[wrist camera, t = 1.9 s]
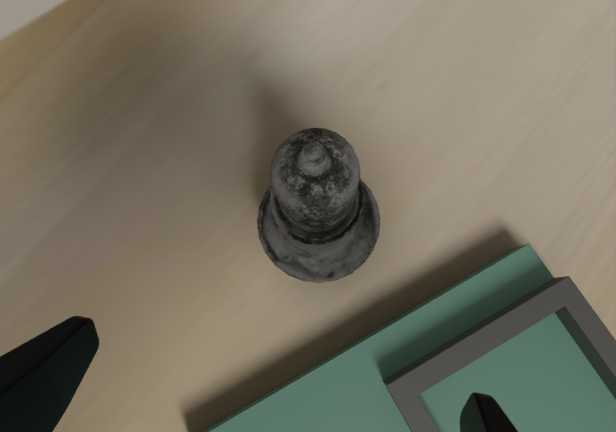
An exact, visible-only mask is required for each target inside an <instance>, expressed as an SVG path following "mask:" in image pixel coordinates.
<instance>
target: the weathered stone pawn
mask: <svg viewBox="0 0 616 432" xmlns="http://www.w3.org/2000/svg"><path fill="white" fill-rule="evenodd" d="M270 180H271V186H270V188H269V189H268V190H267V191H266V193H265V195H264V197H263V200H262V202H261V204H260V207H259V213H258V220H257V224H258V233H259V239H260V241H261V243H262V246H263V248H264V251H265V253H266V254H267V255H268V257H269V258H270V259H271V260H272V262H273V263H274V264H275V265H276V266H277V267H278V268H280V269H281V270H282V271H284V272H285V273H286V274H288V275H290V276H292V277H295V278H297V279H300V280H303V281H309V282H318V283H321V282H328V281H334V280H338V279H340V278H342V277H345V276H347V275H349V274H351V273H353V272H354V271H355V270H356V269H357V268H359V267H360V266H361V265H362V264H363V263H364V262H365V261H366V260H367V258H368V257H369V255H370V254H371V252H372V251H373V250H374V247H375V244H376V241H377V239H378V236H379V227H380V216H379V211H378V206H377V202H376V200H375V198H374V196H373V194H372V192H371V190H370V189H369V188H368V187H367V185H366V184H365V183H364V182H363V181H362V180H361V179H360V168H359V162H358V158H357V156H356V154H355V152H354V150H353V148H352V146H351V145H350V144H349V143H348V142H347V141H346V139H345V138H343V137H342V136H340V135H339V134H337V133H336V132H333V131H330V130H327V129H321V128H311V129H305V130H301V131H299V132H297V133H294V134H292V135H291V136H290V137H288V138H287V139H286V140H284V141H283V143H282V144H281V145H280V146H279V148H278V149H277V150H276V153H275V155H274V157H273V160H272V163H271V170H270Z"/></svg>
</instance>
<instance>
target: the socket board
mask: <svg viewBox="0 0 616 432" xmlns="http://www.w3.org/2000/svg"><path fill="white" fill-rule="evenodd" d="M473 392H477V393H482V394H487V395H490V396H492V397H493V398H494V399H495V400H496V401H497V403H498V404H499V405H500V407H501V408H502V410H503V411H504V412H505V414H506V415H507V417H508V418H509V419H510V421H511V422H512V423H513V425H514V426H515V428H516V429H517V430H518V432H616V340H615V339H614V337H613V336H612V335H611V333H610V332H609V331H608V329H607V328H606V326H605V325H604V324H603V322H602V321H601V320H600V318H599V317H598V315H597V314H596V313H595V311H594V310H593V309H592V307H591V306H590V304H589V303H588V302H587V300H586V299H585V298H584V296H583V295H582V293H581V292H580V291H579V289H578V288H577V287H576V285H575V284H574V283H573V281H572V280H571V278H570V277H569V276H566V277H558V278H553V276H552V275H551V273H550V272H549V271H548V269H547V268H546V266H545V265H544V264H543V262H542V261H541V259H540V258H539V257H538V255H537V254H536V252H535V251H534V250H533V248H532V247H531V245H530V244H527V245H523V246H520V247H517V248H514V249H513V250H511V251H509V252H508V253H506V254H504V255H502V256H501V257H499V258H497V259H496V260H494V261H492V262H490V263H489V264H487V265H485V266H484V267H482V268H480V269H479V270H477V271H475V272H473V273H472V274H470V275H468V276H467V277H465V278H463V279H461V280H460V281H458V282H456V283H455V284H453V285H451V286H450V287H448V288H446V289H444V290H443V291H441V292H439V293H438V294H436V295H434V296H433V297H431V298H429V299H427V300H426V301H424V302H422V303H421V304H419V305H417V306H415V307H414V308H412V309H410V310H409V311H407V312H405V313H404V314H402V315H400V316H398V317H397V318H395V319H393V320H392V321H390V322H388V323H386V324H385V325H383V326H381V327H380V328H378V329H376V330H375V331H373V332H371V333H369V334H368V335H366V336H364V337H363V338H361V339H359V340H358V341H356V342H354V343H352V344H351V345H349V346H347V347H346V348H344V349H342V350H340V351H339V352H337V353H335V354H334V355H332V356H330V357H329V358H327V359H325V360H323V361H322V362H320V363H318V364H317V365H315V366H313V367H311V368H310V369H308V370H306V371H305V372H303V373H301V374H300V375H298V376H296V377H294V378H293V379H291V380H289V381H288V382H286V383H284V384H283V385H281V386H279V387H277V388H276V389H274V390H272V391H271V392H269V393H267V394H265V395H264V396H262V397H260V398H259V399H257V400H255V401H254V402H252V403H250V404H248V405H247V406H245V407H243V408H242V409H240V410H238V411H237V412H235V413H233V414H231V415H230V416H228V417H226V418H225V419H223V420H221V421H219V422H218V423H216V424H214V425H213V426H211V427H209V428H208V429H206V430H204V431H202V432H460V414H461V411H462V409H463V407H464V406H465V404H466V402H467V400H468V398H469V396H470V395H471V394H472V393H473Z"/></svg>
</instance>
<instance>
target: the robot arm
mask: <svg viewBox="0 0 616 432" xmlns="http://www.w3.org/2000/svg"><path fill="white" fill-rule="evenodd" d="M98 347H99V338H98V335H97V331H96V328H95V325H94V322H93V320H92V319H90V318H86V317H81V316H73V317H71V318H69V319H67V320H65V321H63V322H61V323H60V324H58V325H56V326H54V327H53V328H51V329H49V330H47V331H45V332H44V333H42V334H40V335H38V336H36V337H35V338H33V339H31V340H29V341H27V342H26V343H24V344H22V345H20V346H19V347H17V348H15V349H13V350H11V351H10V352H8V353H6V354H4V355H2V356H1V357H0V432H53V430H54V428H55V427H56V425H57V424H58V422H59V421H60V419H61V417H62V416H63V414H64V413H65V411H66V409H67V407H68V405H69V404H70V402H71V400H72V398H73V396H74V394H75V392H76V390H77V388H78V386H79V385H80V383H81V381H82V379H83V377H84V375H85V373H86V371H87V369H88V367H89V365H90V363H91V361H92V360H93V358H94V356H95V354H96V352H97V350H98ZM460 432H518V430H517V429H516V428H515V426H514V425H513V423H512V422H511V421H510V419H509V418H508V417H507V415H506V414H505V412H504V411H503V410H502V408H501V407H500V405H499V404H498V403H497V401H496V400H495V399H494V398H493V397H492V396H490V395H487V394H482V393H477V392H473V393H472V394H471V395H470V396H469V398H468V400H467V402H466V404H465V406H464V407H463V409H462V411H461V414H460Z"/></svg>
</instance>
